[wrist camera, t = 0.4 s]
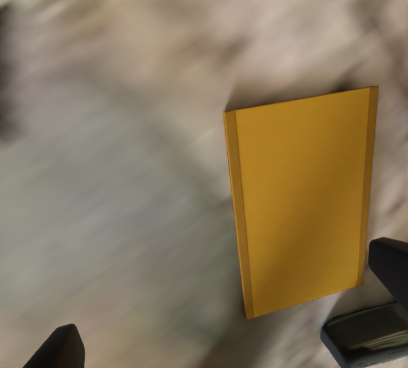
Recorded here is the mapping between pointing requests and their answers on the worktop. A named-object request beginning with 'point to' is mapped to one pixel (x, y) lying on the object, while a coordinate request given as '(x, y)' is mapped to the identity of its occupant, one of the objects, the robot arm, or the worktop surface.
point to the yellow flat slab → (301, 195)
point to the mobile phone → (368, 336)
